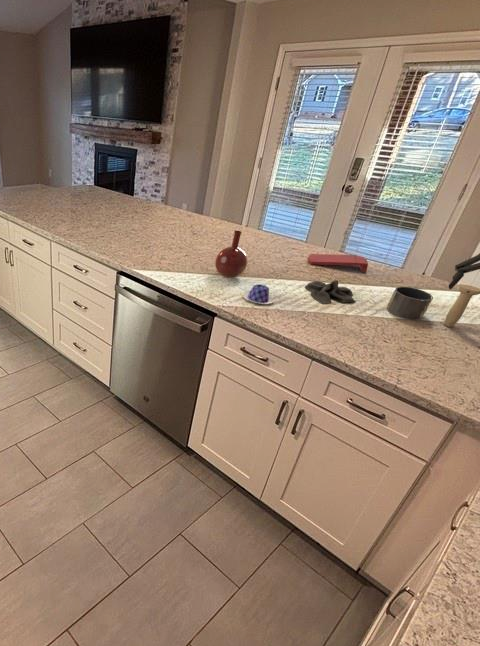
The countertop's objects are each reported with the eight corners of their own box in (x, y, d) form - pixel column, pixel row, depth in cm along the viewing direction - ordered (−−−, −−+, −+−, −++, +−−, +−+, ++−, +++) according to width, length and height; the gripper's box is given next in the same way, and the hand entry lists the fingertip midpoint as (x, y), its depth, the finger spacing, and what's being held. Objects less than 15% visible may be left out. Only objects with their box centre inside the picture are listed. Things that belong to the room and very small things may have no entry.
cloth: (303, 281, 182) (308, 267, 178) (350, 288, 177) (355, 275, 173) (306, 301, 164) (311, 287, 161) (358, 310, 159) (364, 295, 156)
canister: (427, 314, 159) (437, 295, 154) (416, 322, 152) (426, 303, 148) (393, 302, 166) (402, 284, 162) (381, 310, 160) (389, 291, 155)
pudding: (245, 290, 171) (248, 278, 168) (275, 296, 167) (279, 284, 164) (240, 301, 162) (243, 289, 159) (271, 308, 158) (275, 295, 155)
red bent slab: (306, 271, 202) (366, 273, 192) (308, 261, 199) (369, 263, 189) (307, 263, 211) (364, 265, 201) (308, 253, 209) (366, 255, 198)
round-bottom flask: (232, 269, 190) (242, 226, 179) (249, 281, 179) (261, 235, 168) (207, 272, 186) (215, 228, 175) (223, 284, 175) (233, 237, 165)
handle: (438, 320, 155) (459, 283, 146) (459, 326, 151) (482, 288, 143) (437, 324, 151) (458, 287, 143) (458, 330, 148) (481, 292, 140)
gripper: (558, 266, 138) (512, 314, 140) (474, 243, 156) (433, 286, 158) (562, 253, 133) (514, 303, 135) (474, 231, 151) (433, 275, 153)
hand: (470, 294), depth 147 cm, fingers open, 13 cm apart
